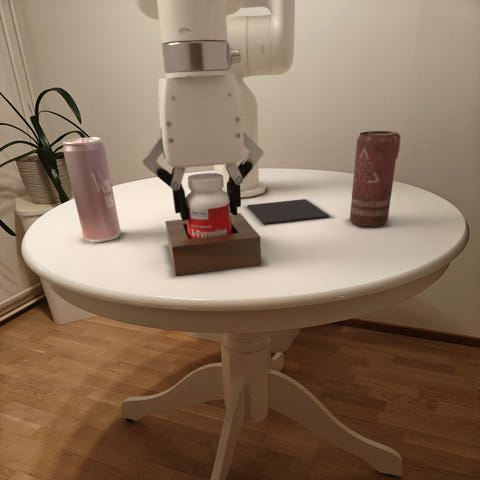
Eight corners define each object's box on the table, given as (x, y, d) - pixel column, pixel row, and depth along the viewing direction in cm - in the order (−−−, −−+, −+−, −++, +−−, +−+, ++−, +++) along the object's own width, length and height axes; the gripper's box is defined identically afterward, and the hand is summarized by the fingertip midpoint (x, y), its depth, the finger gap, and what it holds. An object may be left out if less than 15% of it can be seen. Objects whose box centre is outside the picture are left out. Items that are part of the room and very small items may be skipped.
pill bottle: (189, 264, 58) (179, 182, 53) (191, 248, 64) (183, 172, 58) (233, 262, 58) (229, 179, 53) (232, 246, 64) (228, 170, 58)
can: (390, 228, 68) (404, 134, 61) (349, 227, 69) (358, 135, 62) (387, 217, 73) (399, 129, 66) (349, 216, 74) (357, 130, 67)
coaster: (247, 207, 82) (247, 205, 82) (305, 201, 85) (305, 199, 84) (263, 224, 72) (263, 222, 72) (329, 217, 74) (329, 215, 74)
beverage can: (105, 229, 74) (86, 136, 66) (128, 234, 71) (111, 138, 63) (76, 239, 70) (52, 141, 62) (99, 245, 66) (77, 143, 59)
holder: (168, 246, 65) (165, 221, 63) (241, 237, 67) (240, 212, 65) (175, 276, 55) (171, 246, 53) (261, 264, 57) (260, 236, 55)
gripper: (259, 61, 54) (261, 202, 63) (121, 66, 51) (144, 214, 60) (277, 58, 47) (276, 216, 56) (120, 64, 44) (146, 230, 53)
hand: (208, 213), depth 58 cm, fingers closed on pill bottle, 6 cm apart
